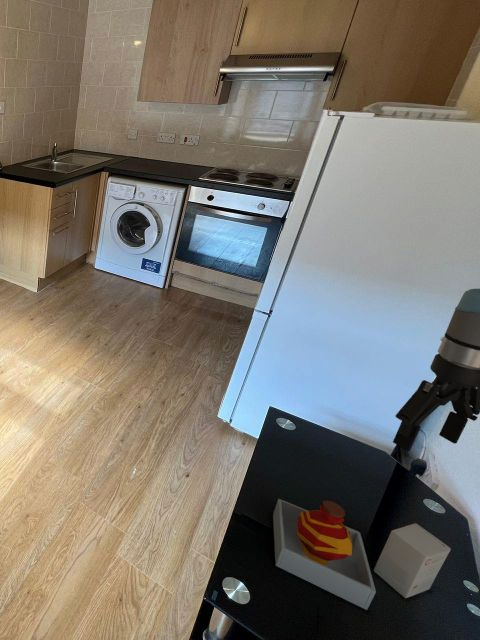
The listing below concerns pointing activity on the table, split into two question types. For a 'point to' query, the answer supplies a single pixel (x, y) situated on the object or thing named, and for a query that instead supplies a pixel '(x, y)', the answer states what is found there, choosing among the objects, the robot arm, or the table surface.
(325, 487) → the table surface
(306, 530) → the potion bottle
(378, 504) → the table surface
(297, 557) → the gray square tray
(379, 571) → the small box
